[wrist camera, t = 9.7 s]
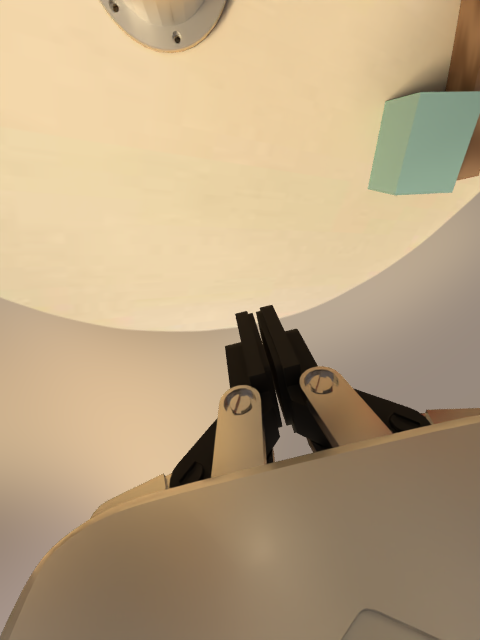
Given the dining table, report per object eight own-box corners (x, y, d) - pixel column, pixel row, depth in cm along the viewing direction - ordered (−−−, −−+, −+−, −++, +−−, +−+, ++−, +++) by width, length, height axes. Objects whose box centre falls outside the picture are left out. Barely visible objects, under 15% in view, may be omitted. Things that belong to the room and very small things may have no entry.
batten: (472, -62, 25) (514, -95, 22) (503, -69, 25) (551, -103, 22) (430, 178, 36) (454, 181, 32) (452, 173, 36) (478, 175, 32)
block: (384, 101, 31) (420, 91, 26) (441, 100, 32) (487, 91, 27) (367, 188, 36) (394, 195, 31) (417, 186, 36) (451, 192, 31)
